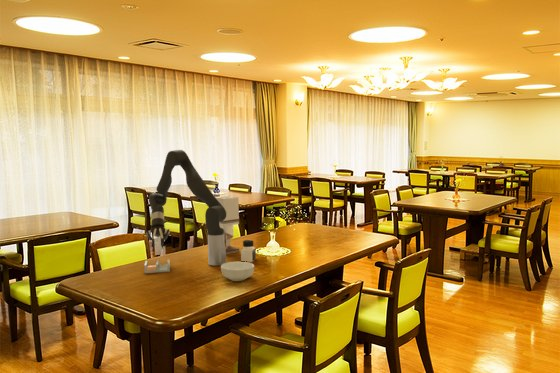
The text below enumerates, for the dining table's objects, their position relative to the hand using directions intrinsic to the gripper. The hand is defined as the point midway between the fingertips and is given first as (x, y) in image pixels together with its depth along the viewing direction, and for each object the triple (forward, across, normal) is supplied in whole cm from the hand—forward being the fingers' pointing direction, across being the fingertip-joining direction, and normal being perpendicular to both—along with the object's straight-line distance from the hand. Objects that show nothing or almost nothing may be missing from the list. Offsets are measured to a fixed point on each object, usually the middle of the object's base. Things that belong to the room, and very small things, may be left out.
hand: (158, 245), depth 259 cm
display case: (-6, +42, +23) cm, 48 cm away
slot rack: (+16, 0, -1) cm, 16 cm away
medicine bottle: (+12, +51, +5) cm, 53 cm away
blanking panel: (+2, 0, +5) cm, 5 cm away
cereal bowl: (+37, +40, -20) cm, 58 cm away
